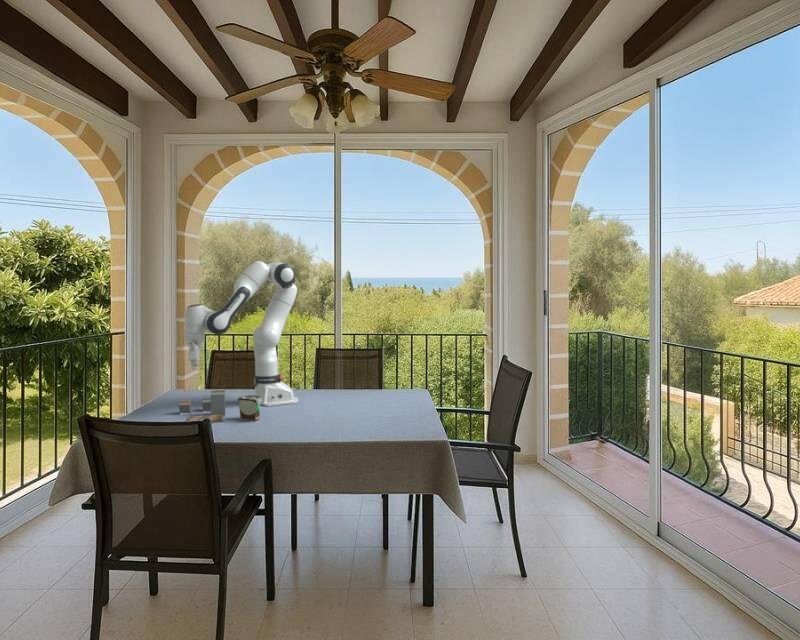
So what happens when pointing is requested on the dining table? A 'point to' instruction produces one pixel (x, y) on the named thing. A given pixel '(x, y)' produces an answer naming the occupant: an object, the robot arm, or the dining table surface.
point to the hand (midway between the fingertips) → (194, 368)
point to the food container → (249, 407)
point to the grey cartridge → (206, 403)
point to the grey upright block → (217, 402)
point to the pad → (213, 417)
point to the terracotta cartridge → (184, 406)
